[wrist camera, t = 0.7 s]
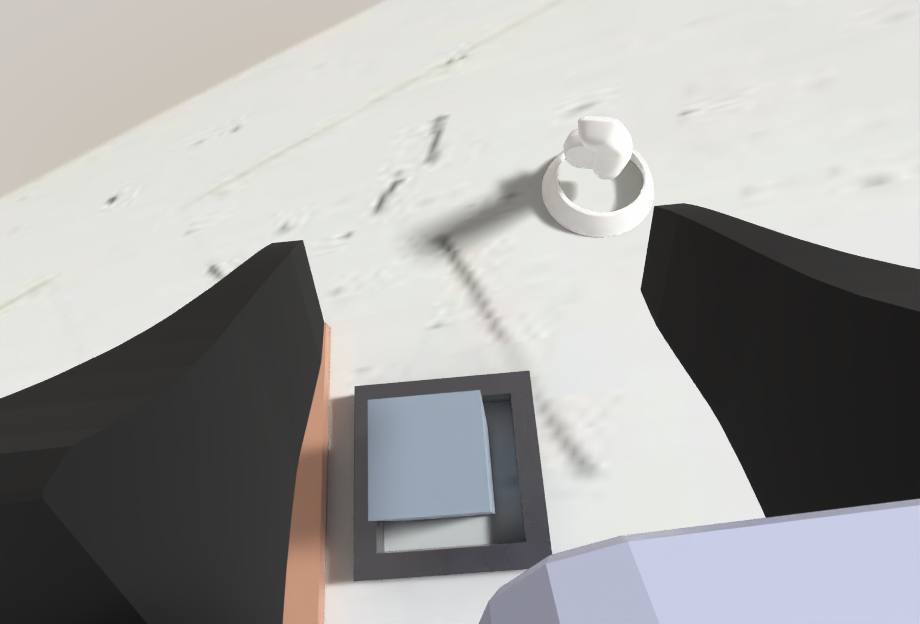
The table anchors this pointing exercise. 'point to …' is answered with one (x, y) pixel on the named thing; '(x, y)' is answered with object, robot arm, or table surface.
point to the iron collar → (460, 558)
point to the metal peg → (428, 457)
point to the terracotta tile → (310, 510)
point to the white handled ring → (607, 155)
